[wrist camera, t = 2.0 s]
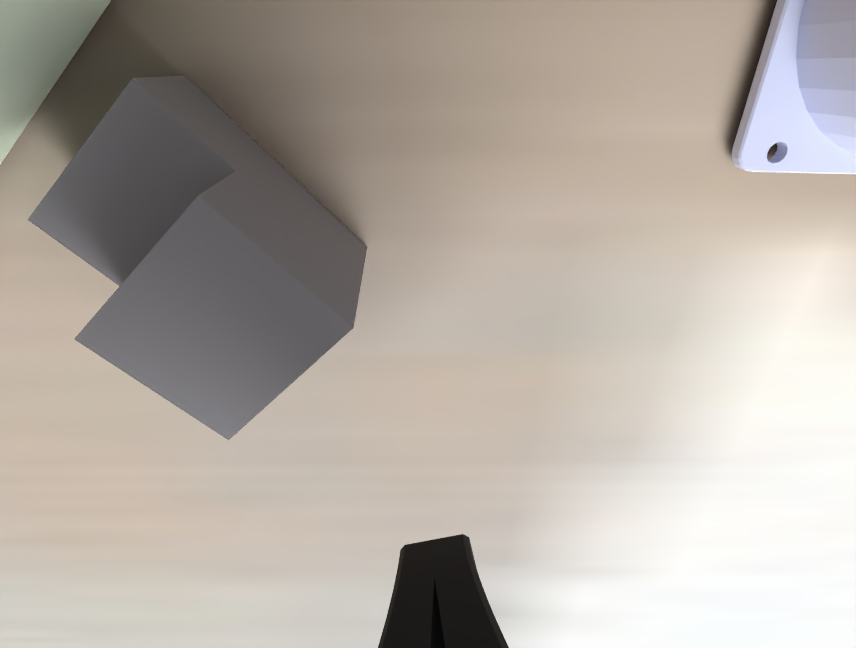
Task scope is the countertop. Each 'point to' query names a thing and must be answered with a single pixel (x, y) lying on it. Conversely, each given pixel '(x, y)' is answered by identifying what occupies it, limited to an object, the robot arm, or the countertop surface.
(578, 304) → the countertop surface
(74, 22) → the pale green bar
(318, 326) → the grey faceted block
